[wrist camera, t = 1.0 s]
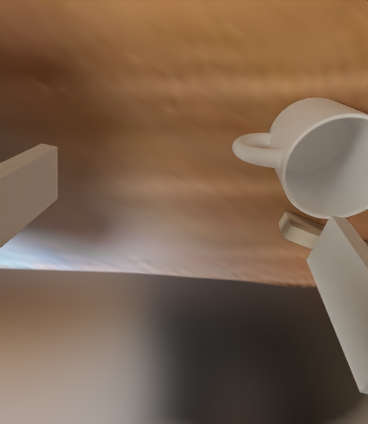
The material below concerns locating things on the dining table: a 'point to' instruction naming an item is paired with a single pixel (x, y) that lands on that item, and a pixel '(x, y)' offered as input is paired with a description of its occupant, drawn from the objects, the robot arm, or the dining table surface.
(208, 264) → the dining table surface
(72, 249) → the dining table surface
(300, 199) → the mug
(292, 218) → the dock
